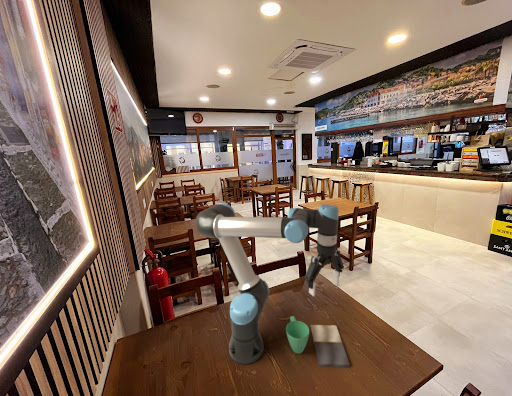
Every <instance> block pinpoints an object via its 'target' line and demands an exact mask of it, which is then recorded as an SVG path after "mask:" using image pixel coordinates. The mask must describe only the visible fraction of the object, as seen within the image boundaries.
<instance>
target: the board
mask: <svg viewBox="0 0 512 396" xmlns="http://www.w3.org/2000/svg"><path fill="white" fill-rule="evenodd" d="M310 329H311V330H310V331H311V334H312V335H311V336H312V340H313V345H314V350H315V354H316V360H317V366H318V367H327V368H328V367H330V368H351V367H350V365H351V364H350V361H349V359H348V356H347V355H348V354H347V353H346V350H345V347H344V344H343V341H342V339H341V335H340V332H339V330H338V327H337V325H334V324H333V325H332V324H331V325H328V324H325V325H324V324H310Z"/></svg>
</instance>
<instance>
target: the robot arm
mask: <svg viewBox="0 0 512 396" xmlns="http://www.w3.org/2000/svg"><path fill="white" fill-rule="evenodd" d="M318 206H319V207H318V209H312V208H310V209H309V208H301V207H291V208H289V209H288V213H287V217H273V216H271V217H270V216H269V217H267V216H266V217H265V216H264V217H262V216H261V217H259V216H258V217H257V216H253V217H252V216H248V217H247V216H246V217H245V216H244V217H243V216H236V213H235V210H234V208H233V207H232V206H231V205H230V204H228V203H226V202H220V203H216V204H214V205H212V206H210V207H208V208H206V209H204V210H202V211H200V212H199V213H198V214H197V216H196V218H195V220H194V227H195V229H196V231H197V232H198V234H200V235H201V236H202V237H205V238H211V239H218V241H219V243H220V245H221V247H222V249H223V251H224V253H225V255H226V257H227V259H228V262H229V264H230V267H231V269H232V271H233V273H234V275H235V278H236V280H237V282H238V285H237V289H238V291H239V295H236V296H235V297H234V298H233V299H232V301H231V302H230V306H229V316H230V326H231V336H230V339H229V345H228V350H229V351H228V353H229V356H230V357H231V359H232V360H233V361H234V362H236V363H238V364H240V365H249V364H252V363H256V361H258V360H259V358H261V357H262V355H263V352H264V341H263V338H262V335H261V333H260V331H259V330H260V329H259V318H260V316H261V313H262V312H263V309H264V308H265V305H266V303H267V302H268V300H269V295H270V287H269V285H268V283H267V282H266V281H265V280H264V279H262V278H261V277H260V276H259V275H257V274H256V273H255V271H254V270H253V267H252V265H251V263H250V260H249V258H248V255H247V254H246V252H245V250H244V247H243V245H242V243H241V240H240V239H239V238H240V237H242V238H243V237H245V238H246V237H247V238H267V239H268V238H269V239H270V238H273V239H287V240H288V241H289V242H290V243H293V244H299V243H301V242H303V241H305V240H306V238H307V236H308V235H309V229H317V236H316V240H317V243H316V252H317V256H313V255H312V256H311V257H310V258H311V259H310V263H309V264H308V265H309V266H308V268H307V270H306V273H305V274H304V280H305V281H307V282H308V283H307V287H308V294H310V295H311V296H312V297H316V281H315V280H316V279H317V277H318V276H319V274H320V272H321V270H322V269H324V267H325V266H327V265H331V266H332V267H333V268H334V269H333V270H332V282H331V283H332V284H333V285H334V286H336V287H338V286H339V282H340V280H339V279H340V275H341V274H340V273H343V270H344V269H345V266H344V263H343V260H342V257H341V251H340V250H337V247H338V246H337V239H338V229H339V213H340V212H339V211H340V210H339V207H338V206H336V205H334V204H330V203H329V204H320V205H318Z"/></svg>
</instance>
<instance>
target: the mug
mask: <svg viewBox="0 0 512 396" xmlns="http://www.w3.org/2000/svg"><path fill="white" fill-rule="evenodd" d="M288 320H289V321H288V323H287V325H286V327H285V331H286V332H285V333H286V336H287V340H288V343H289V345H290V346H289V347H290V348H291V350H292V352H294V354H298V355H299V354H302V353H303V352H304V350H305V349H306V346H307V344H308V340H309V337H310V327H309V326H308V325H307V324H306V323H305V322H303V321H300V320H297V319H296V317H295V316H294V315H291V316H290V317H289V318H288Z"/></svg>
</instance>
